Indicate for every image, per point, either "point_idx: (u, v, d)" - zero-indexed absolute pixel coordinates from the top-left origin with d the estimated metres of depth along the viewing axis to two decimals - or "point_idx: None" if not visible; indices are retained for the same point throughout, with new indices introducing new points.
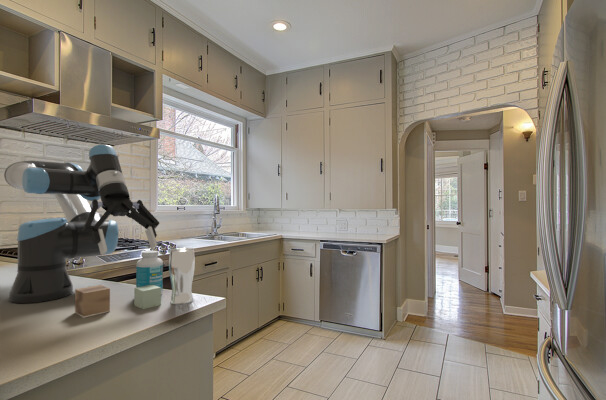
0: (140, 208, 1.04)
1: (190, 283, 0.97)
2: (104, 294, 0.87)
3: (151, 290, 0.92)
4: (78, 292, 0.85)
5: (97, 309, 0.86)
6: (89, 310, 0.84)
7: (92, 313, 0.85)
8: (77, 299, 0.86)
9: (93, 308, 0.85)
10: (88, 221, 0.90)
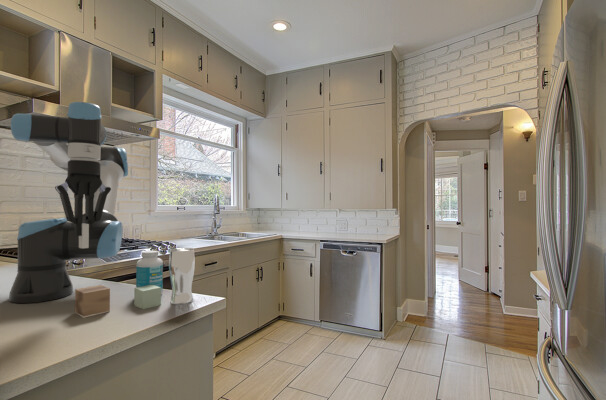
0: (101, 194, 0.94)
1: (190, 283, 0.97)
2: (104, 294, 0.87)
3: (151, 290, 0.92)
4: (78, 292, 0.85)
5: (97, 309, 0.86)
6: (89, 310, 0.84)
7: (92, 313, 0.85)
8: (77, 299, 0.86)
9: (93, 308, 0.85)
10: (69, 214, 0.88)
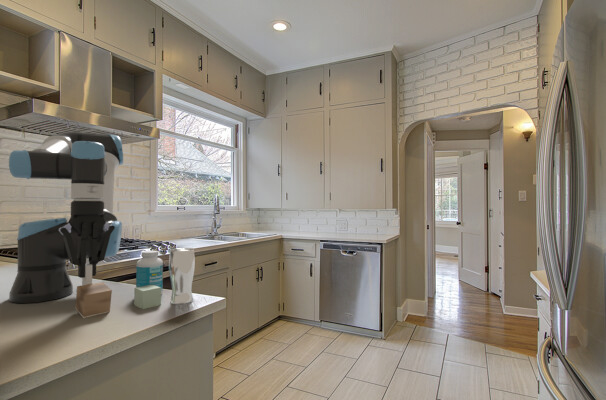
0: (105, 233, 0.92)
1: (190, 283, 0.97)
2: (106, 295, 0.86)
3: (151, 290, 0.92)
4: (80, 291, 0.85)
5: (97, 310, 0.85)
6: (89, 311, 0.84)
7: (92, 313, 0.85)
8: (78, 297, 0.85)
9: (94, 309, 0.85)
10: (73, 257, 0.86)
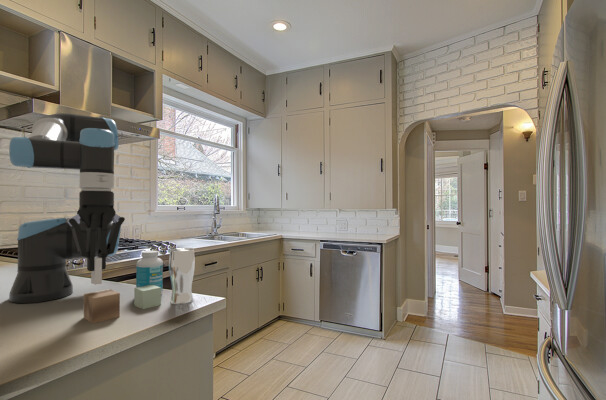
0: (115, 225, 0.89)
1: (190, 283, 0.97)
2: None
3: (151, 290, 0.92)
4: (92, 308, 0.80)
5: None
6: None
7: None
8: (89, 303, 0.81)
9: None
10: (82, 249, 0.82)
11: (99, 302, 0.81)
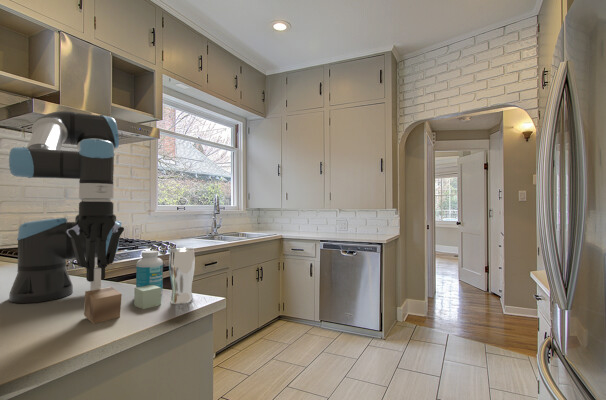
0: (114, 235, 0.89)
1: (190, 283, 0.97)
2: None
3: (151, 290, 0.92)
4: (93, 308, 0.79)
5: None
6: None
7: None
8: (90, 302, 0.80)
9: None
10: (81, 260, 0.82)
11: (101, 303, 0.80)
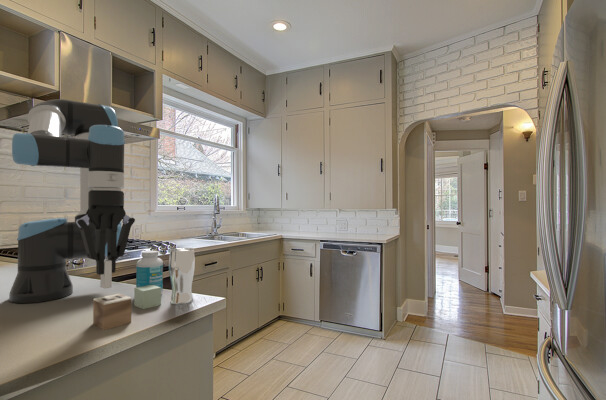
0: (125, 226, 0.85)
1: (190, 283, 0.97)
2: None
3: (151, 290, 0.92)
4: (99, 326, 0.77)
5: None
6: None
7: None
8: (100, 318, 0.77)
9: None
10: (91, 252, 0.78)
11: None
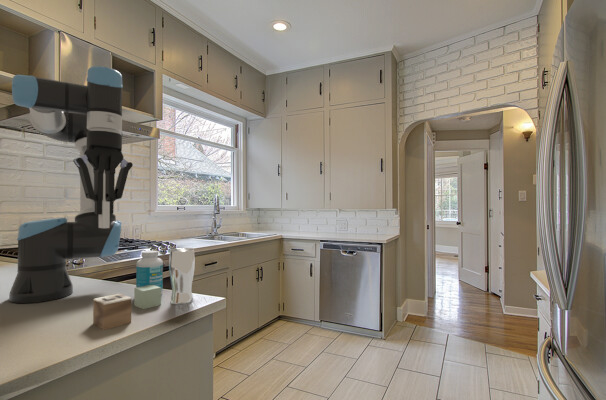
0: (122, 170, 0.86)
1: (190, 283, 0.97)
2: None
3: (151, 290, 0.92)
4: (99, 326, 0.77)
5: None
6: None
7: None
8: (100, 318, 0.77)
9: None
10: (89, 190, 0.80)
11: None
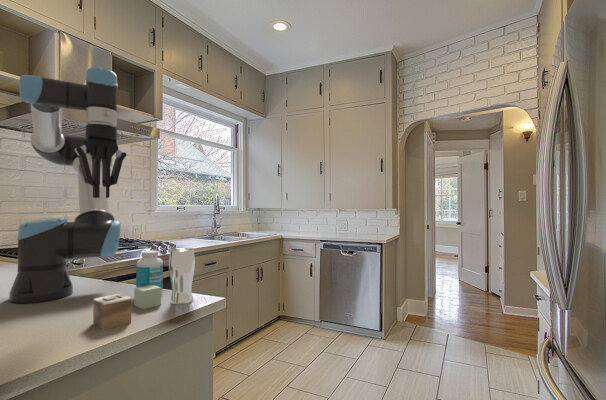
0: (117, 159, 0.97)
1: (190, 283, 0.97)
2: None
3: (151, 290, 0.92)
4: (99, 326, 0.77)
5: None
6: None
7: None
8: (100, 318, 0.77)
9: None
10: (88, 176, 0.91)
11: None
